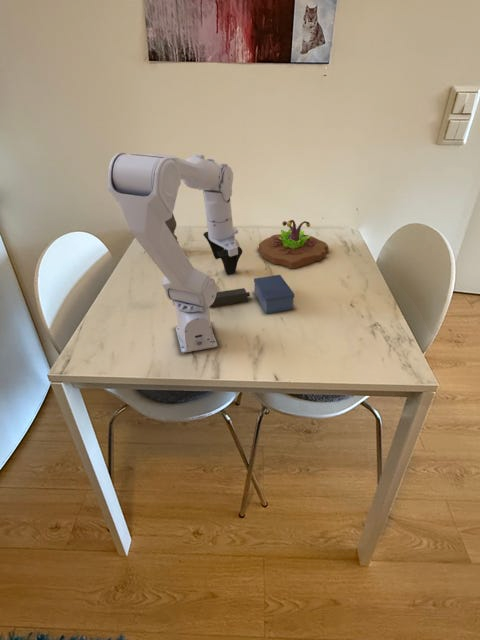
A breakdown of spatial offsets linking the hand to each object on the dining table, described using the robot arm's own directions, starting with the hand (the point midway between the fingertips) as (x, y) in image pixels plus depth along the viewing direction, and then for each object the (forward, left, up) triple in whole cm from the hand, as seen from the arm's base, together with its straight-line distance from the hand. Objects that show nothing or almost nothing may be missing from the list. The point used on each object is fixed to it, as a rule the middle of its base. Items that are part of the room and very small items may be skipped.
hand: (224, 265), depth 101 cm
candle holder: (+32, +11, -10) cm, 35 cm away
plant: (+21, -26, -10) cm, 35 cm away
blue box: (-4, -11, -10) cm, 16 cm away
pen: (-1, 0, -10) cm, 10 cm away
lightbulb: (+14, -4, -10) cm, 18 cm away
